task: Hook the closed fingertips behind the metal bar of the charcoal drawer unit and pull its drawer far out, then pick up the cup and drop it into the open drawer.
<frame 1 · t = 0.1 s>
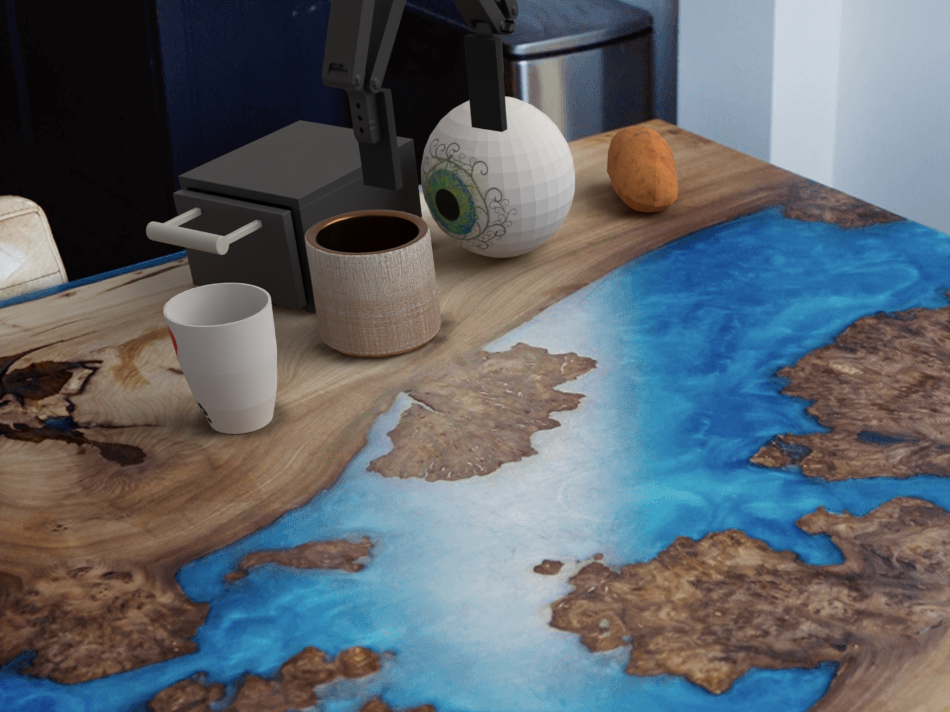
hand: (439, 156, 102), 21 cm above the table, tool pointing down, fingers open, 13 cm apart
cup: (242, 421, 115), on the table
planter: (382, 336, 128), on the table
decorative object: (504, 254, 142), on the table
drawer: (272, 232, 133), point 5 cm above the table, slide at 0.5 cm
cabinet: (317, 266, 140), on the table
potato: (643, 201, 153), on the table
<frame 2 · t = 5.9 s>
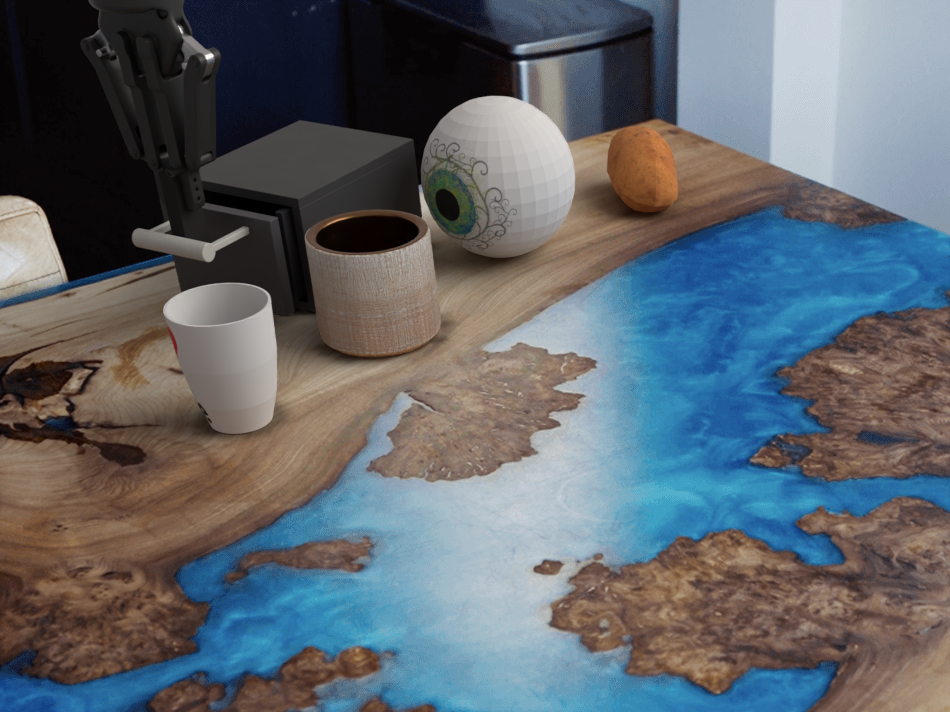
hand: (191, 242, 124), 8 cm above the table, tool pointing down, fingers closed
drawer: (260, 238, 132), point 5 cm above the table, slide at 2.3 cm, touching gripper
everything else where it was.
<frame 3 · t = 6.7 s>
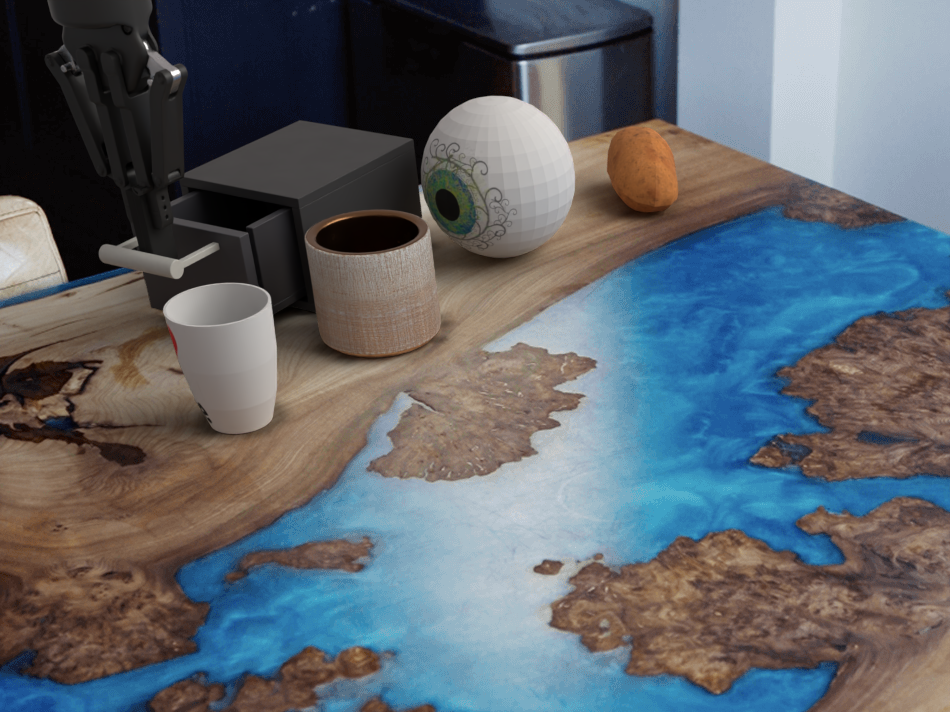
hand: (160, 261, 122), 8 cm above the table, tool pointing down, fingers closed
drawer: (231, 253, 129), point 5 cm above the table, slide at 6.2 cm, touching gripper
everything else where it was.
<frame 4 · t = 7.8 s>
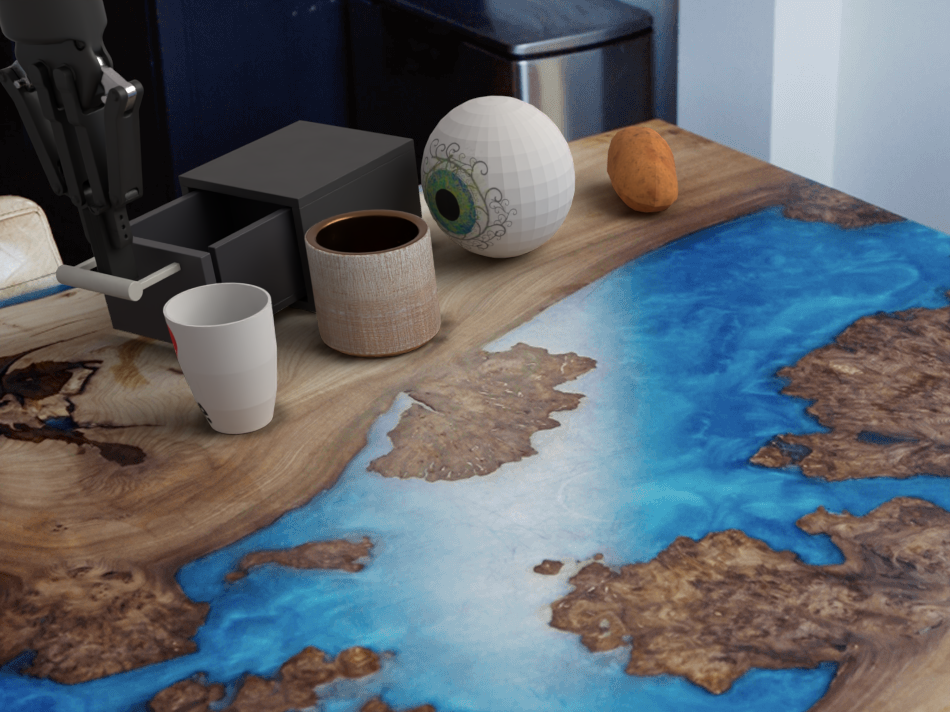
hand: (120, 281, 118), 8 cm above the table, tool pointing down, fingers closed
drawer: (195, 273, 125), point 5 cm above the table, slide at 11.1 cm, touching gripper
everything else where it was.
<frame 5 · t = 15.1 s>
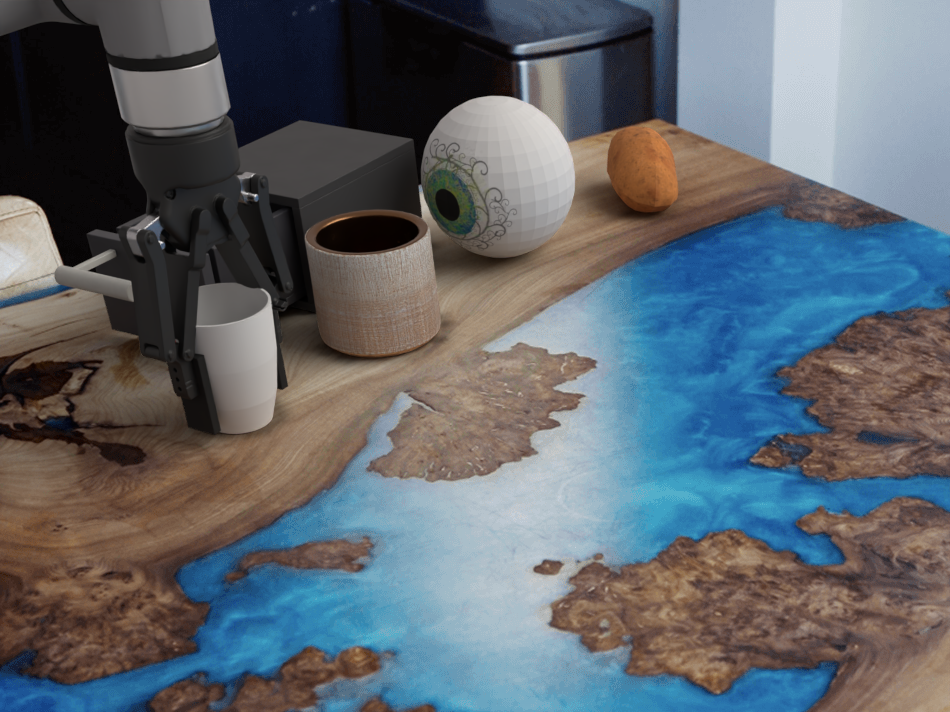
hand: (239, 406, 115), 1 cm above the table, tool pointing down, fingers closed on cup, 8 cm apart
cup: (242, 421, 115), on the table, touching gripper
drawer: (194, 273, 125), point 5 cm above the table, slide at 11.2 cm
everything else where it was.
when the fingers open (8 cm above the table, at t = 22.9 s): cup drops 4 cm, resting on drawer.
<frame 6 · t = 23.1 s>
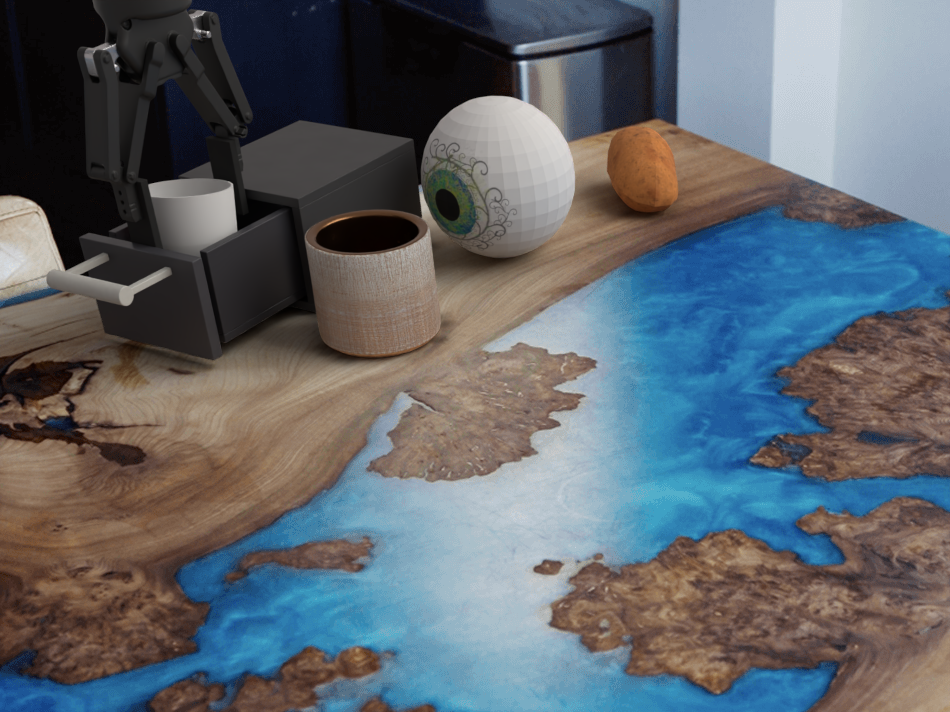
hand: (193, 232, 124), 9 cm above the table, tool pointing down, fingers open, 10 cm apart
cup: (205, 303, 128), point 2 cm above the table, touching drawer
drawer: (187, 277, 125), point 5 cm above the table, slide at 12.1 cm, touching cup
everything else where it was.
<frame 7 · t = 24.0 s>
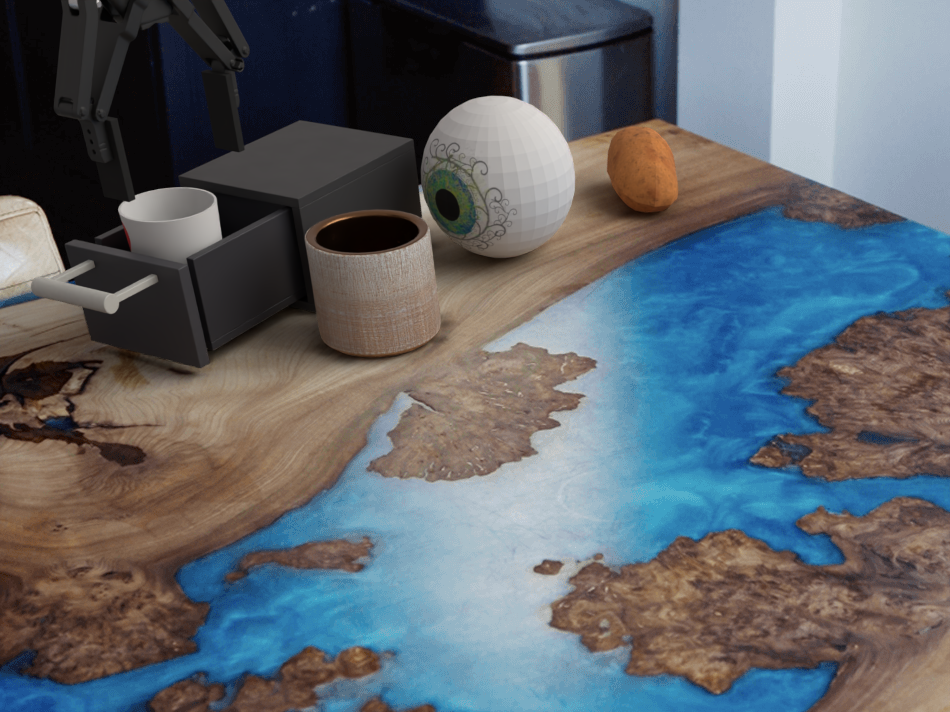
hand: (177, 173, 121), 14 cm above the table, tool pointing down, fingers open, 13 cm apart
cup: (193, 315, 127), point 2 cm above the table, touching drawer
drawer: (174, 284, 123), point 5 cm above the table, slide at 13.8 cm, touching cup
everything else where it was.
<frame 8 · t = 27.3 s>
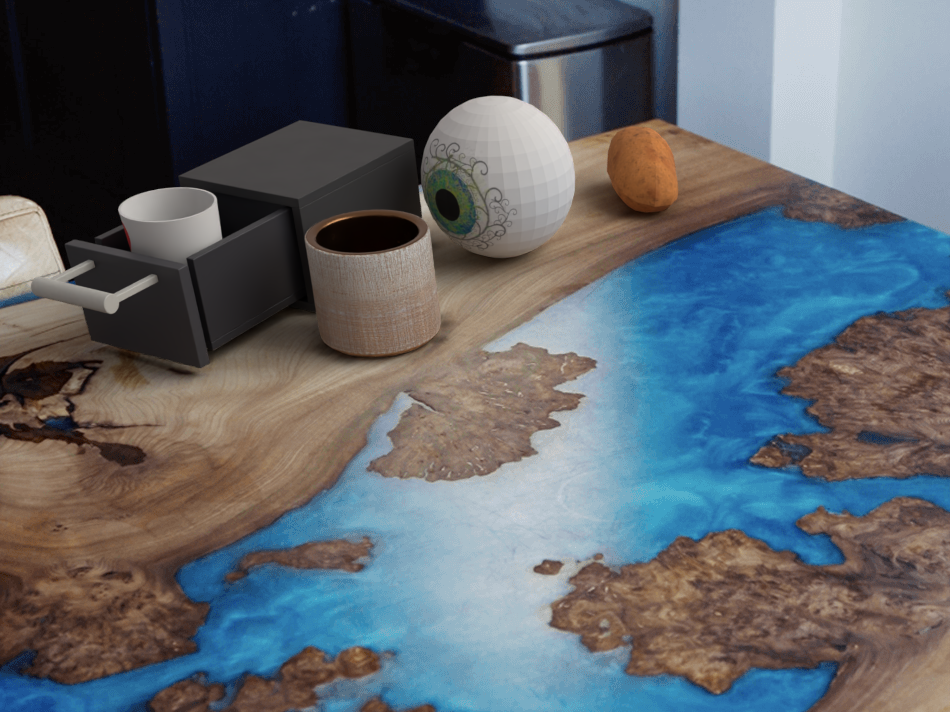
nothing on the table moved.
at the end: drawer slide at 13.8 cm; cup inside the target area in the drawer (2.1 cm from its centre), point 1.9 cm above the cabinet's base; the gripper is holding nothing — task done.
